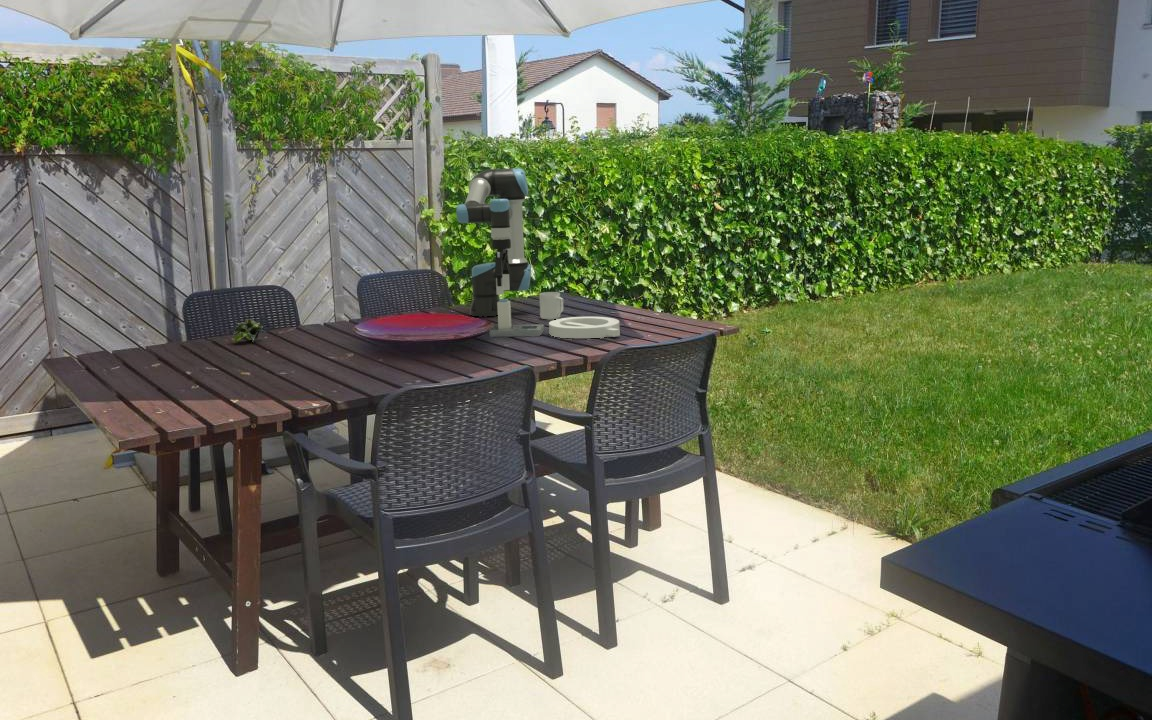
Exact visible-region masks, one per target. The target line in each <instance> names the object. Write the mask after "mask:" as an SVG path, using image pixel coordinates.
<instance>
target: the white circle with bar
mask: <svg viewBox="0 0 1152 720" xmlns="http://www.w3.org/2000/svg"><path fill="white" fill-rule="evenodd" d="M620 330H621V329H620V320H619V319H616V318H613V317H606V316H570V317H563V318H559V319H556V320H550V321H549V322H548V333H549V334H550V335H551V336H550V335H549V336H550V337H552V336H554V337H553V338H555V337H560V338H600V339H605V338H604V337H607V338H612V337H613V338H615V337H619V336H621V331H620ZM560 338H559V339H560Z"/></svg>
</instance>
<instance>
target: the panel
mask: <svg viewBox="0 0 1152 720" xmlns="http://www.w3.org/2000/svg"><path fill="white" fill-rule="evenodd" d="M543 331H544V332H545V324H536V323H535V324H511V329H498V324H495V325H493V327H492V328H491V329H490V330H489V337H490V338H491V337H492V338H493V337H494V338H496V337H499V338H500V337H502V338H503V337H506V338H511V337H514V338H515V337H541V336H540V335H542V334H543V333H544V332H543ZM542 332H543V333H542Z"/></svg>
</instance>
